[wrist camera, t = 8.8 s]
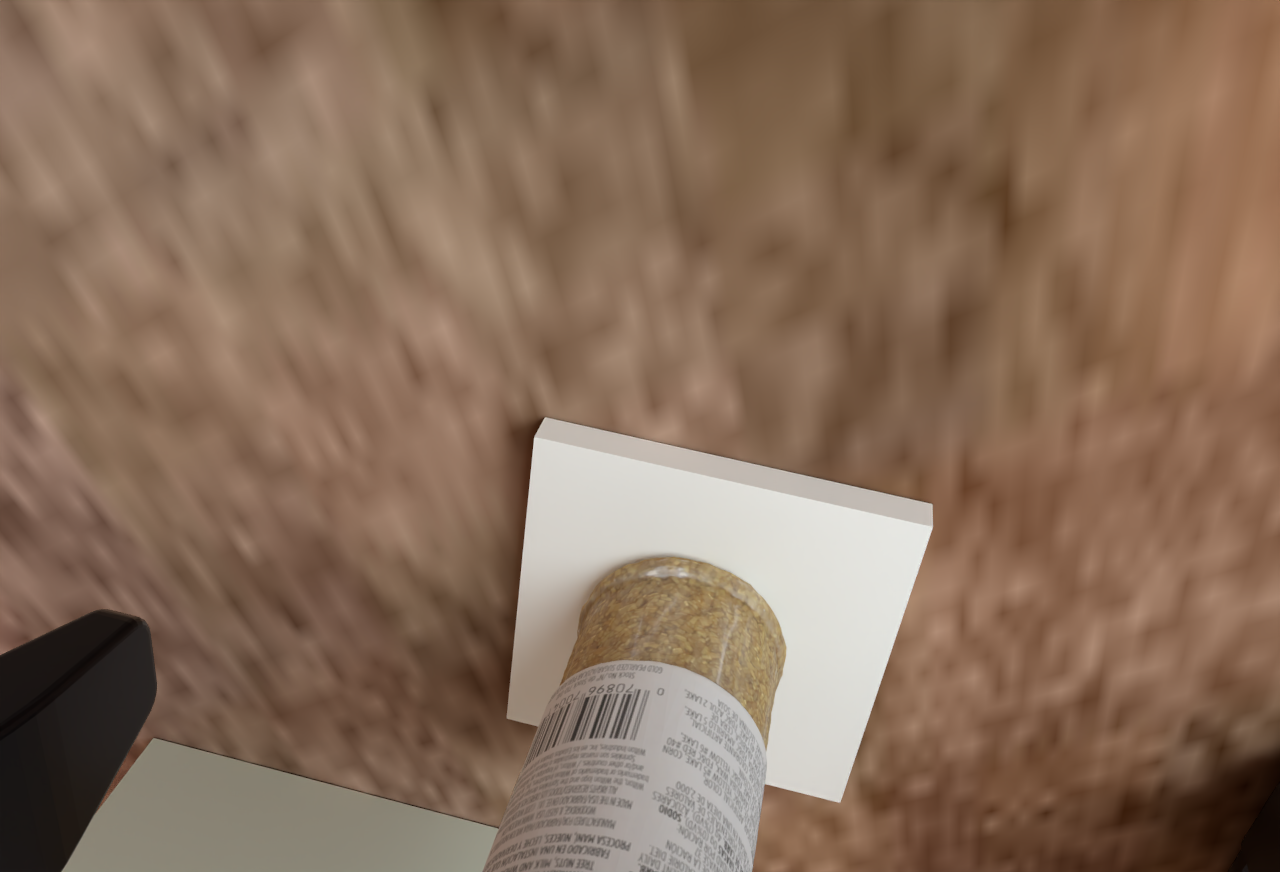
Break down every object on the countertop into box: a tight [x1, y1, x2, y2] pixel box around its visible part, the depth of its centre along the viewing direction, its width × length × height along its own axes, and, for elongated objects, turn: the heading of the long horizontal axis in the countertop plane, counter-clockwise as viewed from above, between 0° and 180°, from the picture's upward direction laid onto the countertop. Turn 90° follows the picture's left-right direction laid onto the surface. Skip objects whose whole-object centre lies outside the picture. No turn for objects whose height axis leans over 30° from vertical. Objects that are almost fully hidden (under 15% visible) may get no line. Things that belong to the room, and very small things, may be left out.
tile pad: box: [507, 417, 933, 803], centre depth 25 cm, size 8×8×1 cm
